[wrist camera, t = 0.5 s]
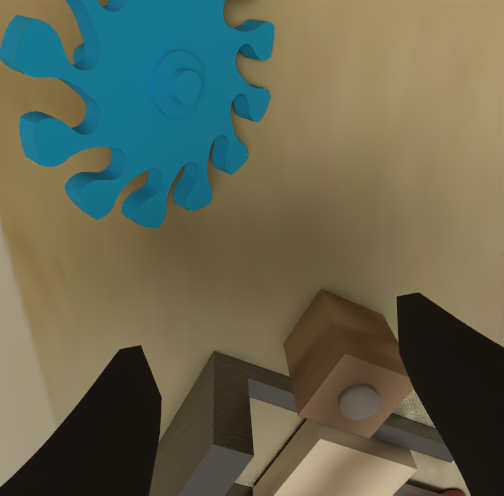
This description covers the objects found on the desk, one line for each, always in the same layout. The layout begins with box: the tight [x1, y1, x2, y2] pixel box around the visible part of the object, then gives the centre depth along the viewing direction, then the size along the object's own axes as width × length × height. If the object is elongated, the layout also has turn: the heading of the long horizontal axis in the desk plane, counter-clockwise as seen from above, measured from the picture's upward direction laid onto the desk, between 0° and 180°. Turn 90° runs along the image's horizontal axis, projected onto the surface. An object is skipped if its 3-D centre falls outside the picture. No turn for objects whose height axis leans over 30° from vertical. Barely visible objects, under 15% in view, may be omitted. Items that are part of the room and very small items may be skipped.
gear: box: [0, 0, 274, 228], centre depth 15 cm, size 11×6×10 cm
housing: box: [284, 289, 413, 438], centre depth 22 cm, size 4×4×5 cm
